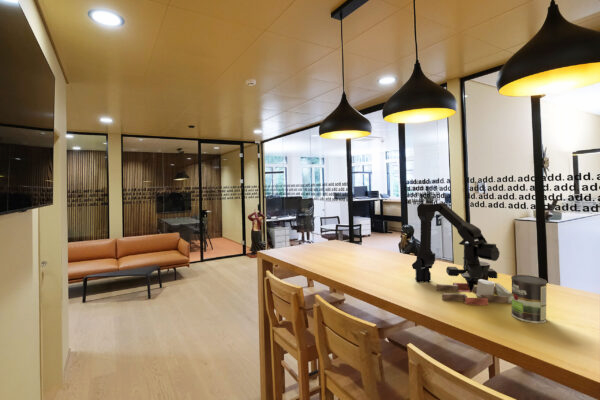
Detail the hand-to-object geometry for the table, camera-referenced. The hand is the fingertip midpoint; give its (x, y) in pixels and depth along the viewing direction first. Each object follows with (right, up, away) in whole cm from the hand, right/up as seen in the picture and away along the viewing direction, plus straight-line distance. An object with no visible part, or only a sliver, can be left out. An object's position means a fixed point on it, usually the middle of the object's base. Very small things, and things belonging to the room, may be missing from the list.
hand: (470, 291), depth 133 cm
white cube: (+6, -2, -1) cm, 6 cm away
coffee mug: (+14, -1, +18) cm, 22 cm away
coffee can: (+8, -3, -22) cm, 24 cm away
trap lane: (0, -2, 0) cm, 2 cm away
